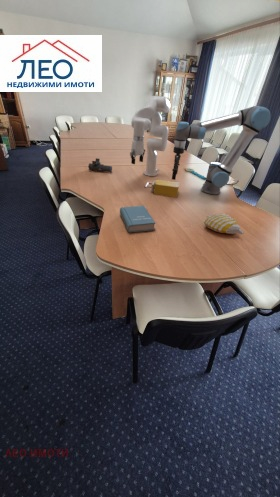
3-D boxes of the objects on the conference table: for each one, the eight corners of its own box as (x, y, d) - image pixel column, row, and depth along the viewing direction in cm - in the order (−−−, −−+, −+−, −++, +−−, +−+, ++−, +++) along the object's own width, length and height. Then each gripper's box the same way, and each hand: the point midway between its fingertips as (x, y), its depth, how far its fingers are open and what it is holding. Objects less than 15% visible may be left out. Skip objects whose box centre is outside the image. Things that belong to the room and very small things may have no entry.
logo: (182, 168, 234) (183, 167, 234) (191, 168, 237) (191, 167, 236) (198, 179, 209) (198, 178, 208) (207, 179, 211) (207, 178, 211)
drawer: (143, 190, 176) (144, 183, 173) (146, 186, 184) (146, 179, 180) (172, 195, 173) (173, 187, 169) (173, 190, 180) (174, 183, 177)
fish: (254, 225, 128) (232, 232, 118) (249, 236, 132) (228, 244, 123) (221, 208, 144) (199, 213, 134) (217, 218, 149) (196, 224, 139)
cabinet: (153, 193, 175) (154, 184, 170) (156, 189, 184) (157, 179, 179) (176, 197, 172) (178, 187, 167) (177, 192, 181) (179, 182, 176)
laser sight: (109, 174, 206) (109, 163, 200) (87, 171, 209) (86, 160, 203) (112, 171, 214) (112, 160, 208) (90, 168, 217) (90, 157, 211)
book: (154, 230, 131) (155, 222, 128) (128, 232, 126) (128, 225, 124) (143, 212, 148) (143, 205, 145) (119, 214, 144) (120, 207, 141)
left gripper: (141, 136, 169) (140, 159, 179) (126, 138, 157) (126, 163, 167) (149, 138, 165) (147, 161, 175) (134, 140, 154) (133, 165, 164)
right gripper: (175, 142, 167) (171, 171, 179) (172, 149, 147) (167, 181, 160) (185, 144, 166) (180, 172, 178) (183, 151, 146) (177, 182, 158)
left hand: (137, 162), depth 171 cm, fingers open, 9 cm apart
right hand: (174, 176), depth 169 cm, fingers open, 13 cm apart
